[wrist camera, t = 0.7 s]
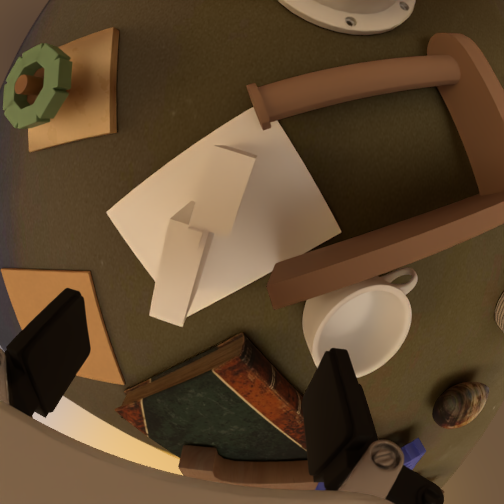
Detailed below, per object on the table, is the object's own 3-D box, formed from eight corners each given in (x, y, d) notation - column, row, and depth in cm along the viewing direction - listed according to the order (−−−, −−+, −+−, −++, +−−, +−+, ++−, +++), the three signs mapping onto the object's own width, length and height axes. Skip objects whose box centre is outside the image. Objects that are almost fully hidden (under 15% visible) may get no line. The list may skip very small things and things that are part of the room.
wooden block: (193, 466, 29) (313, 469, 28) (189, 487, 26) (315, 490, 25) (183, 443, 26) (321, 446, 26) (177, 467, 23) (324, 470, 23)
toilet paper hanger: (443, 65, 19) (492, 10, 9) (498, 198, 19) (574, 186, 9) (224, 112, 21) (184, 41, 11) (279, 275, 22) (273, 310, 12)
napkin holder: (185, 320, 25) (169, 363, 19) (104, 213, 21) (65, 235, 16) (343, 230, 21) (368, 259, 16) (262, 98, 18) (262, 80, 13)
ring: (19, 64, 13) (6, 62, 12) (75, 38, 13) (62, 32, 11) (16, 134, 15) (2, 135, 14) (71, 115, 15) (57, 114, 13)
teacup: (322, 356, 25) (342, 395, 20) (273, 300, 23) (289, 337, 18) (407, 288, 24) (442, 314, 19) (373, 222, 22) (412, 239, 17)
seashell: (446, 402, 31) (488, 372, 27) (456, 434, 27) (501, 405, 23) (414, 401, 29) (464, 366, 24) (425, 440, 24) (480, 407, 20)
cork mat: (2, 267, 24) (0, 269, 24) (90, 270, 24) (88, 272, 23) (39, 363, 29) (38, 365, 29) (125, 383, 29) (124, 385, 28)
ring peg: (39, 61, 17) (-9, 51, 10) (119, 30, 16) (77, 3, 10) (37, 151, 20) (-15, 160, 14) (117, 133, 19) (67, 133, 13)
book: (123, 389, 29) (249, 477, 35) (112, 410, 25) (248, 495, 32) (245, 328, 25) (353, 443, 32) (242, 355, 21) (358, 463, 28)
